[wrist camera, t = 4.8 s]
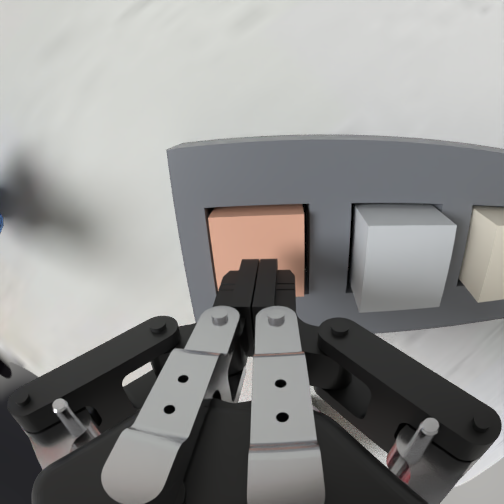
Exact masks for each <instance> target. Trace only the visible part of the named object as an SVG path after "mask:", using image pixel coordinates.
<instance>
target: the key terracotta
mask: <svg viewBox="0 0 504 504" xmlns="http://www.w3.org/2000/svg"><path fill="white" fill-rule="evenodd" d="M208 221H209V229H210V237H211V244H212V252H213V259H214V266H215V273H216V280H217V287H218V291H219V287H220V285H221V281H222V278H223V276H224V275H226V274H227V273H228V272H229V271H234V270H239V268H240V264H241V261H242V259H259V260H260V259H277V260H278V270H291V272H292V273H293V274H294V275H295V290H296V297H304V211H303V206H302V204H278V205H251V206H229V207H215V208H214V209H213V211H212V212H211V214H210V216H209V217H208Z"/></svg>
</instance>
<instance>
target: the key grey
mask: <svg viewBox="0 0 504 504" xmlns="http://www.w3.org/2000/svg"><path fill="white" fill-rule="evenodd" d="M456 228H457V225H456V224H455V223H453V222H452V221H451V220H450V219H449V218H447V217H446V216H445V215H444V214H442V213H441V212H440V211H439V210H437V209H436V208H435V207H434V206H432V205H429V204H354V212H353V233H352V249H351V263H350V275H349V282H350V285H351V288H352V291H353V294H354V297H355V300H356V304H357V307H358V310H359V313H363V312H380V311H395V310H408V309H420V308H432V307H439V306H440V302H441V298H442V295H443V291H444V287H445V283H446V278H447V274H448V270H449V265H450V260H451V256H452V251H453V245H454V240H455V234H456Z"/></svg>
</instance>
